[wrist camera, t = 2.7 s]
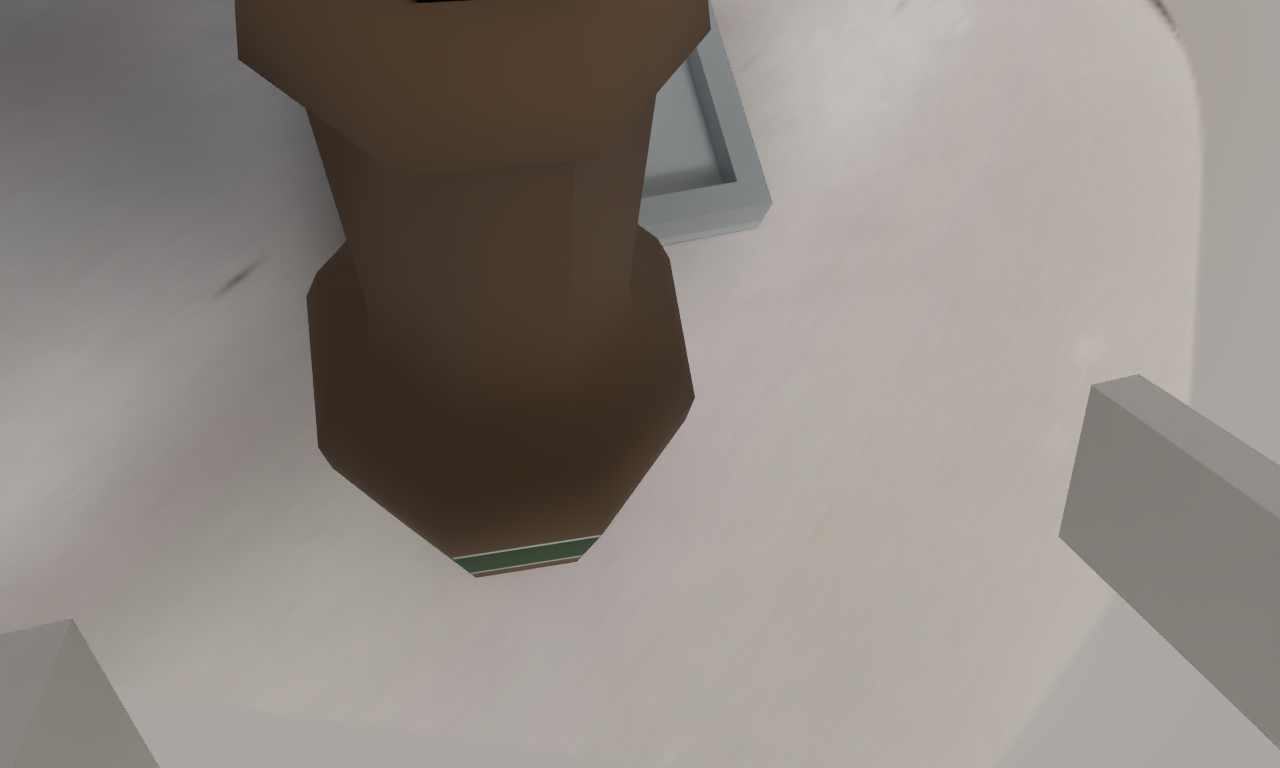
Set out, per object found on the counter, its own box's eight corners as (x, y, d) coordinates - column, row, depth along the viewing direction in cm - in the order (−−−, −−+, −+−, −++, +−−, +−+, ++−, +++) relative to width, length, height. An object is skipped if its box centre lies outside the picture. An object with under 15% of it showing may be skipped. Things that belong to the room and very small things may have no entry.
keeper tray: (398, 294, 30) (390, 272, 28) (334, -28, 33) (322, -69, 31) (757, 227, 32) (772, 202, 30) (668, -68, 35) (676, -108, 33)
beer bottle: (358, 551, 27) (-493, 209, 4) (430, 323, 30) (106, -692, 7) (598, 609, 28) (944, 573, 5) (652, 381, 30) (1067, -380, 7)
